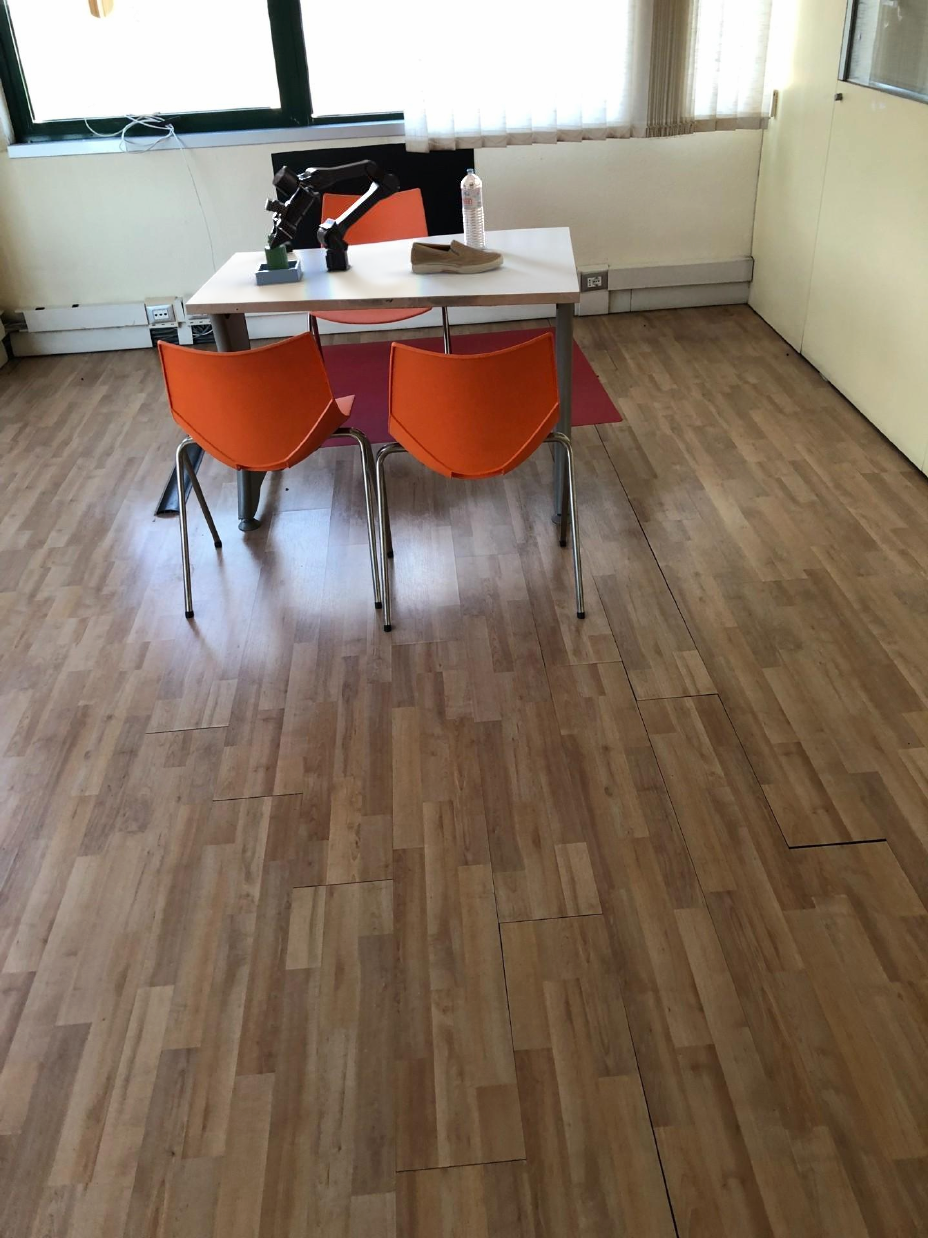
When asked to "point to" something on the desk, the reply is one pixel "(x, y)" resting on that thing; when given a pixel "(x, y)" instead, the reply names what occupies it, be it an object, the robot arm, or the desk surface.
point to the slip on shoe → (452, 258)
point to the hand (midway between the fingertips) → (269, 245)
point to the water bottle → (473, 211)
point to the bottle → (276, 256)
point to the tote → (278, 274)
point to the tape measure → (288, 247)
